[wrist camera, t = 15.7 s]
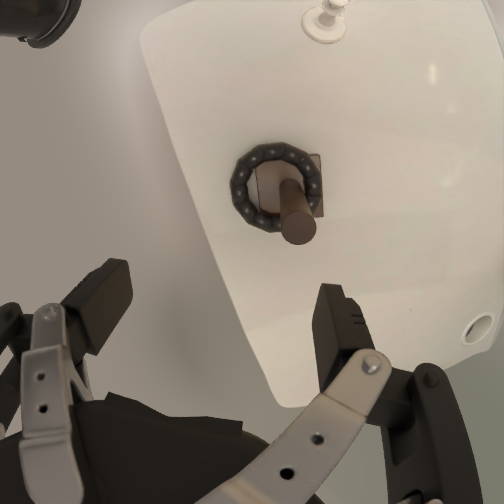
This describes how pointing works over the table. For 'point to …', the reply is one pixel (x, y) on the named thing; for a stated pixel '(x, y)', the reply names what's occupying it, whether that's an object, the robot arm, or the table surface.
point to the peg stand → (287, 199)
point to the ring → (256, 159)
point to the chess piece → (326, 21)
